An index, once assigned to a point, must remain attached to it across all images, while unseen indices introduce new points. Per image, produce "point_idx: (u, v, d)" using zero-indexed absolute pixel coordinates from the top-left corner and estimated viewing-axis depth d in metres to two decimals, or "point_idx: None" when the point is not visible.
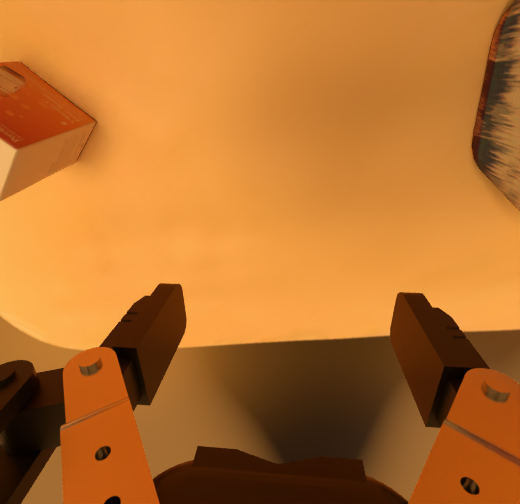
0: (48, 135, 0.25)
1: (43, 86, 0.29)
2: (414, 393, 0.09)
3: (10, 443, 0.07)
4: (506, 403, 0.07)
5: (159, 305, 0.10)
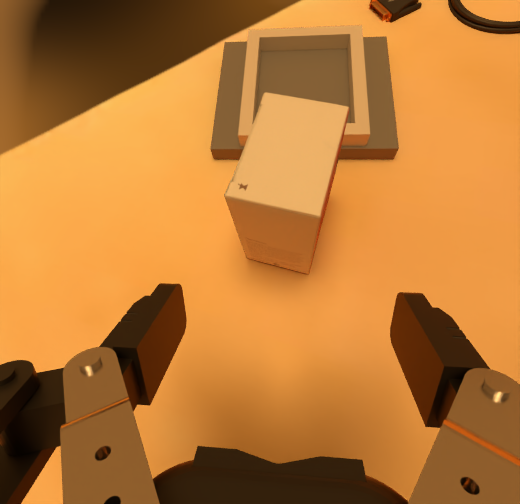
0: (316, 240, 0.20)
1: None
2: (414, 393, 0.09)
3: (10, 443, 0.07)
4: (506, 403, 0.07)
5: (159, 305, 0.10)
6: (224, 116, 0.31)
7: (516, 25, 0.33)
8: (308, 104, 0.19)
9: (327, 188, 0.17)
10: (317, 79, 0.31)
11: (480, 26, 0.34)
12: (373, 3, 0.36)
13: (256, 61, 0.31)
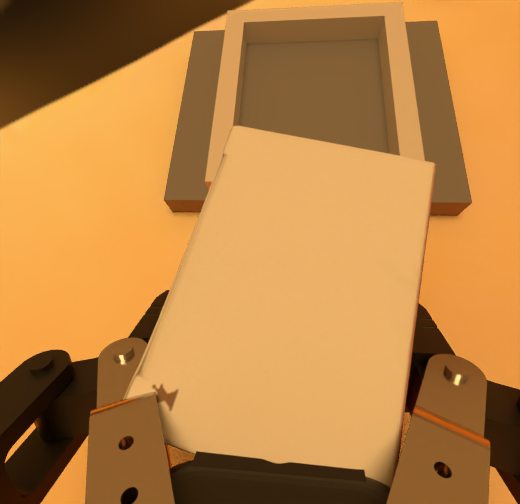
0: None
1: None
2: None
3: (45, 429, 0.08)
4: (464, 384, 0.07)
5: None
6: (188, 145, 0.20)
7: None
8: (335, 157, 0.08)
9: (401, 415, 0.06)
10: (333, 86, 0.20)
11: None
12: None
13: (238, 59, 0.20)
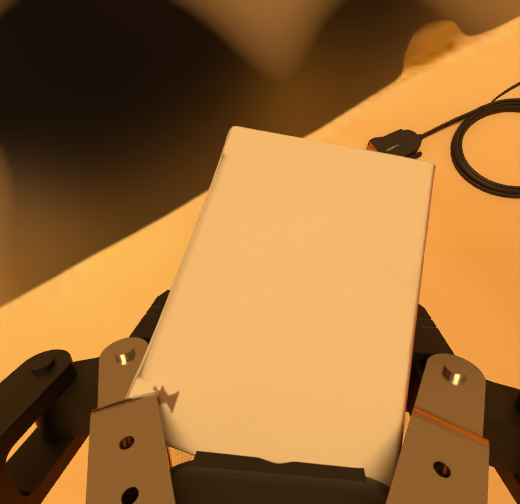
0: None
1: None
2: None
3: (46, 428, 0.08)
4: (462, 384, 0.07)
5: None
6: None
7: None
8: (334, 158, 0.08)
9: (402, 415, 0.06)
10: None
11: (483, 187, 0.31)
12: (370, 150, 0.33)
13: None
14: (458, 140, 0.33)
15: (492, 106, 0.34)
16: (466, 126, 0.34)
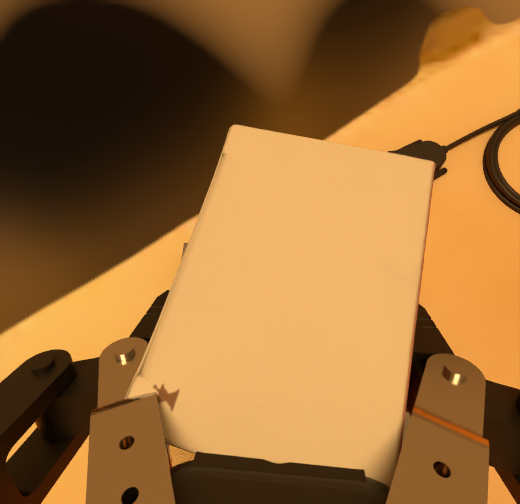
0: None
1: None
2: None
3: (46, 428, 0.08)
4: (462, 384, 0.07)
5: None
6: None
7: None
8: (335, 156, 0.08)
9: (403, 413, 0.06)
10: None
11: None
12: None
13: None
14: (493, 153, 0.26)
15: None
16: (502, 135, 0.27)
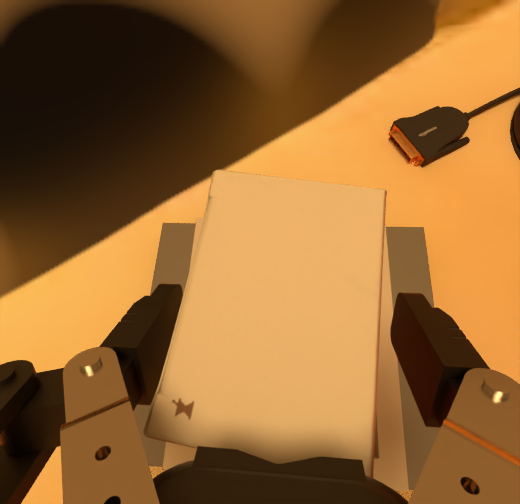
0: None
1: None
2: (414, 393, 0.09)
3: (10, 443, 0.07)
4: (506, 403, 0.07)
5: (159, 305, 0.10)
6: None
7: None
8: (303, 191, 0.10)
9: (374, 399, 0.08)
10: None
11: None
12: (395, 135, 0.23)
13: None
14: None
15: None
16: None
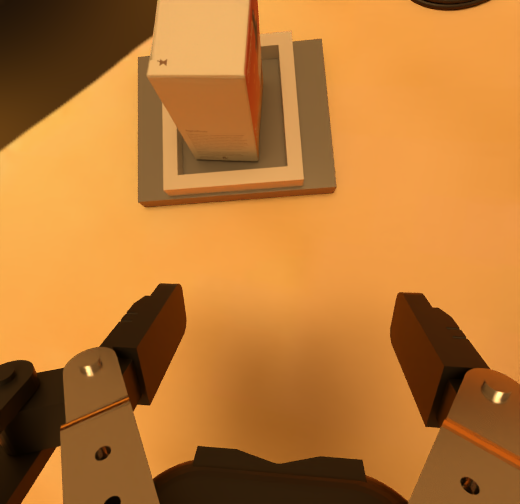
0: (251, 112, 0.20)
1: (260, 103, 0.27)
2: (414, 393, 0.09)
3: (10, 443, 0.07)
4: (506, 403, 0.07)
5: (159, 305, 0.10)
6: (148, 159, 0.28)
7: (462, 0, 0.29)
8: None
9: (246, 46, 0.17)
10: None
11: (423, 1, 0.30)
12: None
13: None
14: None
15: None
16: None
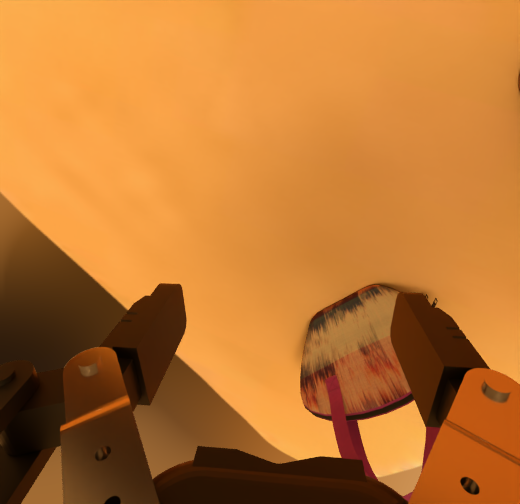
0: None
1: None
2: (414, 393, 0.09)
3: (10, 443, 0.07)
4: (506, 403, 0.07)
5: (159, 305, 0.10)
6: None
7: None
8: None
9: None
10: None
11: None
12: None
13: None
14: None
15: None
16: None
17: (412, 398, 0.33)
